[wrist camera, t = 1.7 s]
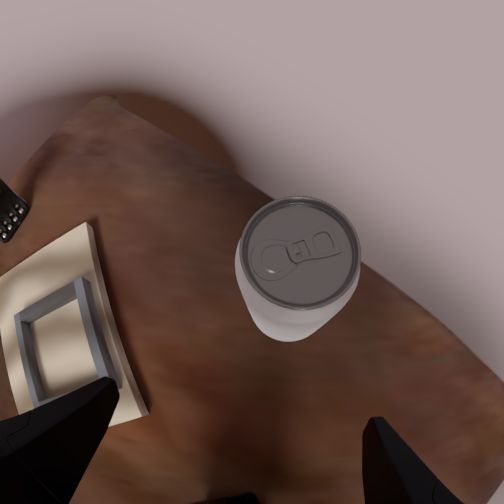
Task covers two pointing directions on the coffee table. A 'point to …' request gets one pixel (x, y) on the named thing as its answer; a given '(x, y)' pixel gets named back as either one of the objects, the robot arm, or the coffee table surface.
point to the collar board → (63, 327)
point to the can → (297, 266)
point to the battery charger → (10, 211)
